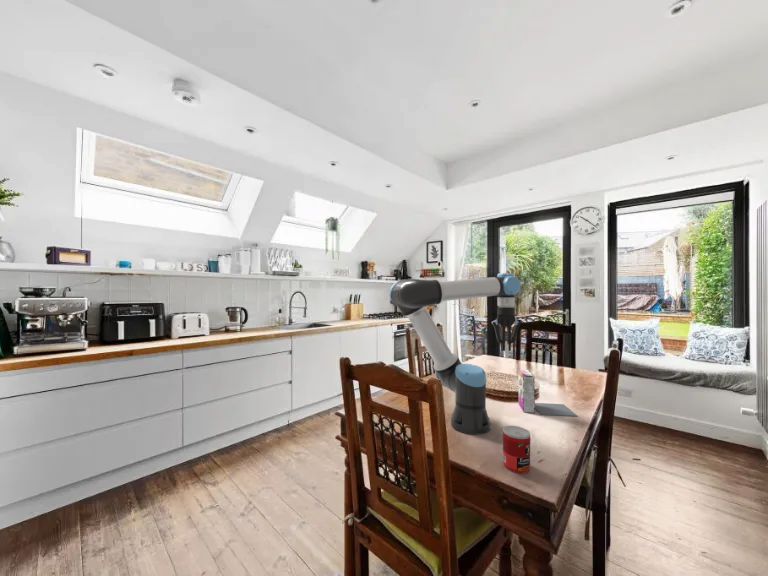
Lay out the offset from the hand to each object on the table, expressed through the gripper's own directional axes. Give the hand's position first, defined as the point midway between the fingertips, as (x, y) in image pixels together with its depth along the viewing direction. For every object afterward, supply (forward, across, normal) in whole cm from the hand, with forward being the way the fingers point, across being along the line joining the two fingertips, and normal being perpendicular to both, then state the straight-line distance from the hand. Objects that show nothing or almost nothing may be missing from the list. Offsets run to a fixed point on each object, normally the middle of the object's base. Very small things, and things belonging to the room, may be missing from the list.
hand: (506, 357), depth 148 cm
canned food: (+23, -9, -51) cm, 57 cm away
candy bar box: (+23, +9, 0) cm, 25 cm away
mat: (+23, +20, 0) cm, 31 cm away
